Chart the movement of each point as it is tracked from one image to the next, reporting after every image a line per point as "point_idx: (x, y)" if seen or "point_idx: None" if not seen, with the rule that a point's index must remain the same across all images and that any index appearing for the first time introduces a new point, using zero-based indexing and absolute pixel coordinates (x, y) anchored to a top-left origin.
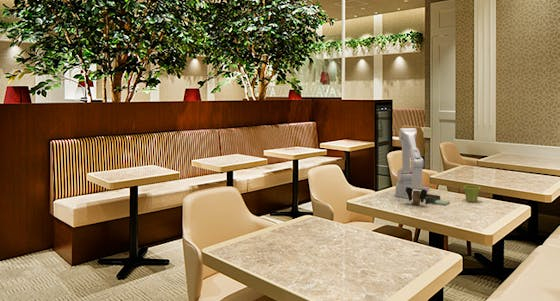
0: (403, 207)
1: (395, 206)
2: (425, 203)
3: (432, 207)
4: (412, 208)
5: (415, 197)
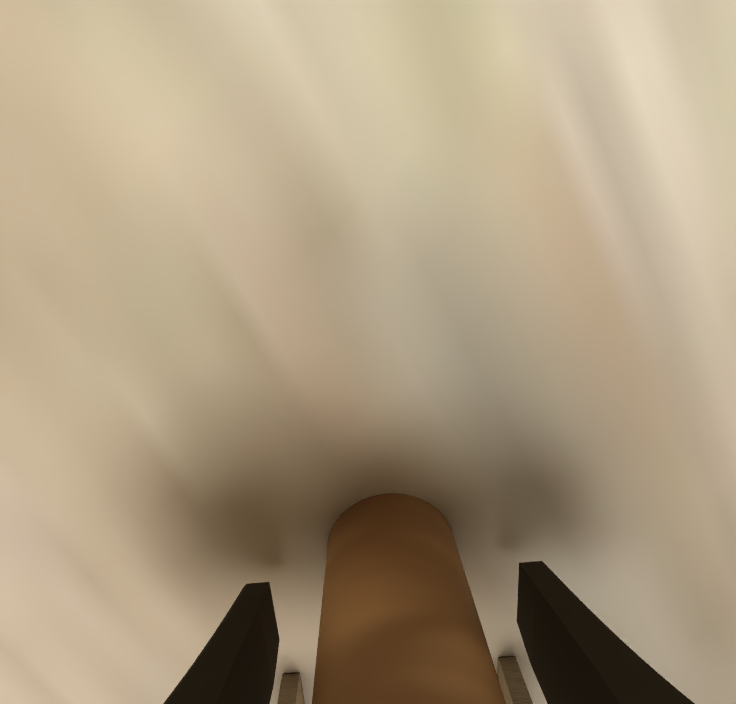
0: (480, 182)
1: (672, 128)
2: (295, 680)
3: (77, 570)
4: (286, 250)
5: (385, 653)
